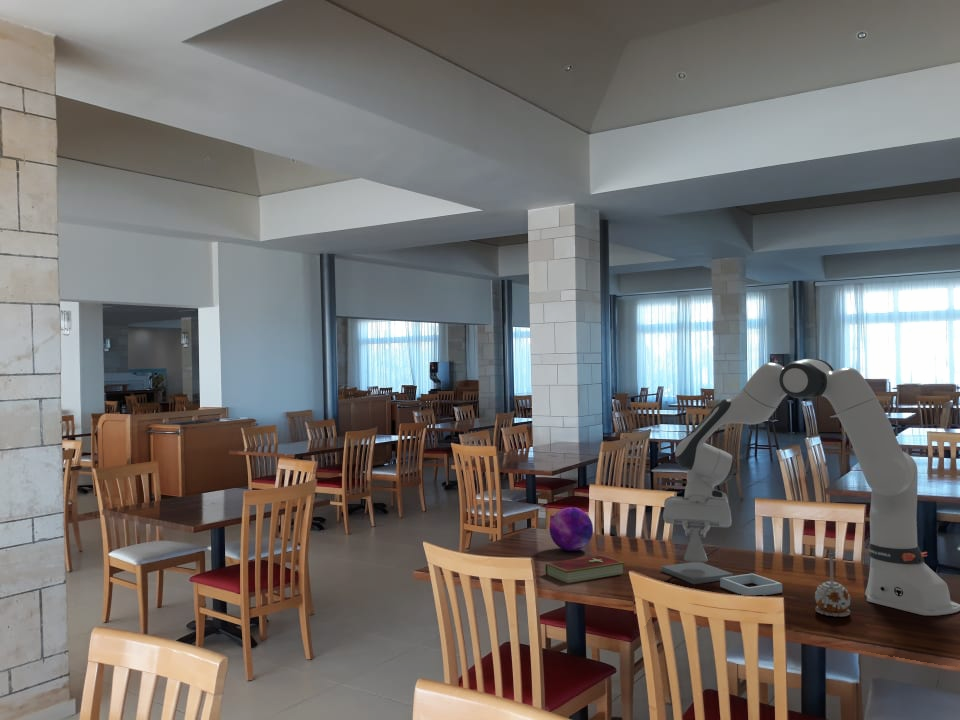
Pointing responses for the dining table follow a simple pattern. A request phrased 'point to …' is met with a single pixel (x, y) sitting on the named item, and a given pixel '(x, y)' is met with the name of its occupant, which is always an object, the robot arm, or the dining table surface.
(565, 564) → the hardcover book
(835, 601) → the decorative ornament
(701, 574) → the slate board
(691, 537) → the flask
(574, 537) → the decorative orb
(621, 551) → the dining table surface
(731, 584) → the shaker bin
